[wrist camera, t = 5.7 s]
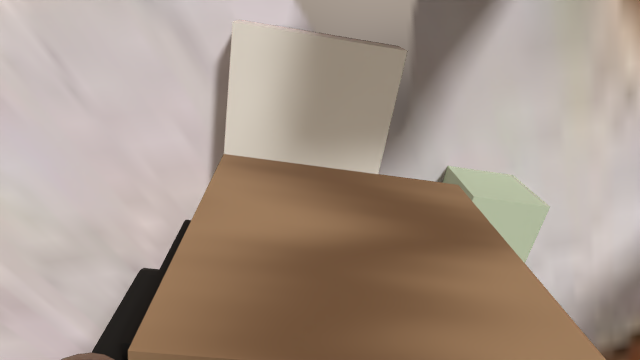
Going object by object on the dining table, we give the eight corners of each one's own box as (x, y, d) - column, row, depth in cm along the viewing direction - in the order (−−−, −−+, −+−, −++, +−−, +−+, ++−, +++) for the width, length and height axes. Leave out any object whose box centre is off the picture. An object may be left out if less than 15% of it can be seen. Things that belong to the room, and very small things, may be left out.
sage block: (512, 174, 30) (549, 206, 25) (489, 232, 32) (520, 272, 27) (447, 165, 29) (473, 196, 25) (428, 224, 31) (449, 263, 27)
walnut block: (458, 185, 10) (631, 390, 5) (402, 354, 13) (478, 617, 7) (223, 154, 10) (127, 350, 4) (210, 337, 12) (139, 613, 7)
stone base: (398, 46, 25) (407, 51, 23) (366, 187, 30) (371, 203, 27) (239, 19, 25) (232, 21, 22) (228, 169, 29) (221, 184, 26)
